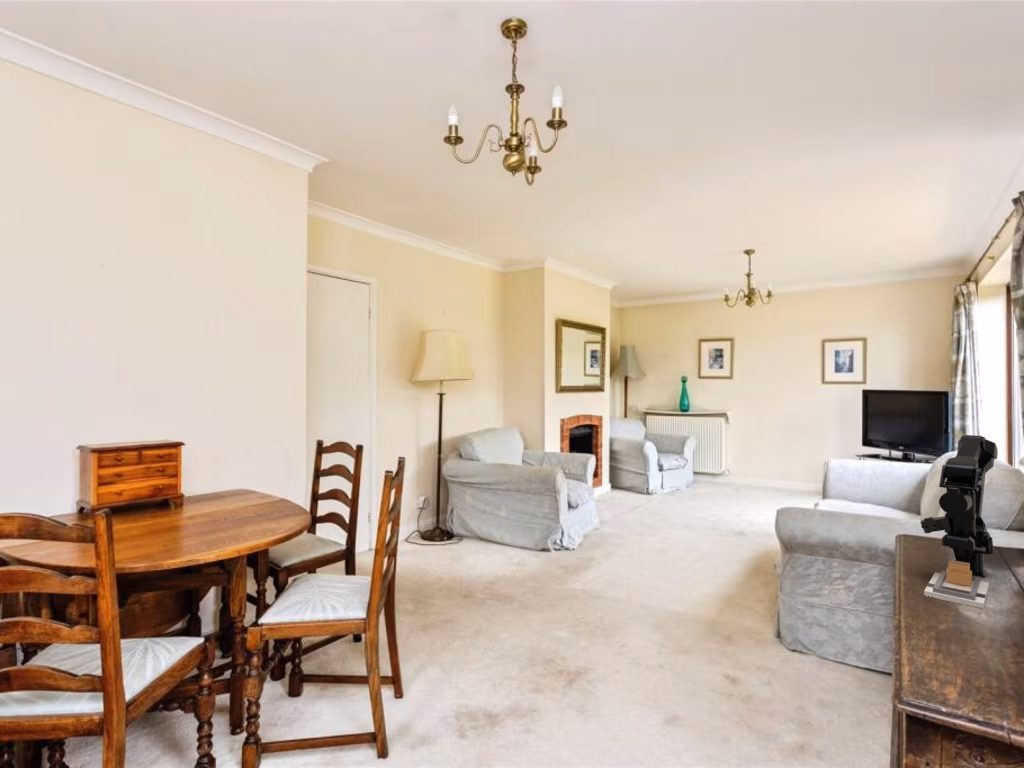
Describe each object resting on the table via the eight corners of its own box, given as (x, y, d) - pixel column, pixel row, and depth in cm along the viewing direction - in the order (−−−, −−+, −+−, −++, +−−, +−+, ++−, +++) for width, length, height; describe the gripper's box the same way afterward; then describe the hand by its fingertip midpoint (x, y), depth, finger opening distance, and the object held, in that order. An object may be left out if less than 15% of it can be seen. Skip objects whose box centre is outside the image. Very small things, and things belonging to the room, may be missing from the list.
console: (935, 576, 147) (935, 568, 147) (988, 587, 139) (988, 578, 139) (924, 595, 133) (924, 586, 133) (983, 608, 125) (983, 599, 125)
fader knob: (947, 577, 142) (948, 558, 142) (971, 582, 139) (971, 562, 139) (946, 581, 139) (946, 561, 139) (970, 586, 136) (970, 566, 136)
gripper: (927, 500, 155) (927, 555, 155) (917, 509, 142) (917, 569, 141) (979, 506, 147) (979, 564, 147) (973, 517, 134) (973, 580, 134)
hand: (960, 569), depth 142 cm, fingers closed
